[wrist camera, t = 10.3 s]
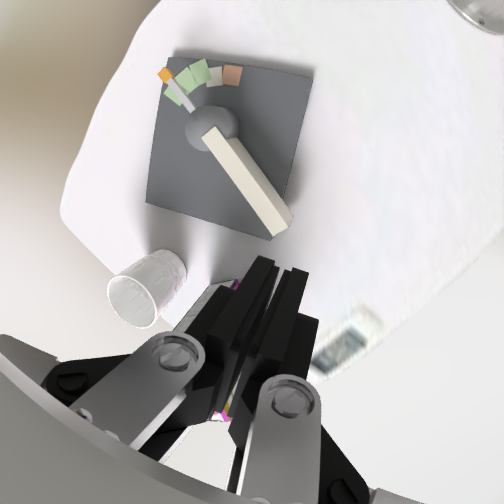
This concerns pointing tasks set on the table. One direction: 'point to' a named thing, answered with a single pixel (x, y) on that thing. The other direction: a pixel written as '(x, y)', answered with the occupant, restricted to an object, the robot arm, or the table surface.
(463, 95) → the table surface
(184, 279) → the white cup
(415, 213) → the table surface
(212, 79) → the tuner board
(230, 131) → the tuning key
